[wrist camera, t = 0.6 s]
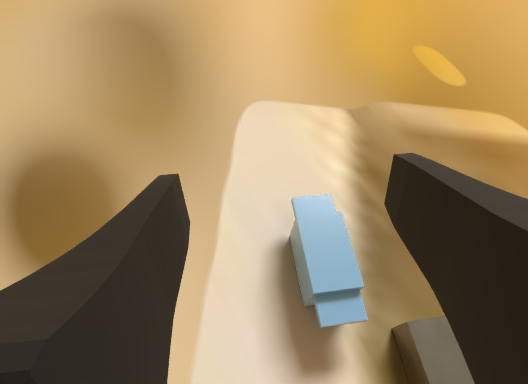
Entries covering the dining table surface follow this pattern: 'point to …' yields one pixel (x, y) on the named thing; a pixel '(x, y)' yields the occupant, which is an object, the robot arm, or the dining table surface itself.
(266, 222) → the dining table surface
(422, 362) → the chassis
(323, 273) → the servo
